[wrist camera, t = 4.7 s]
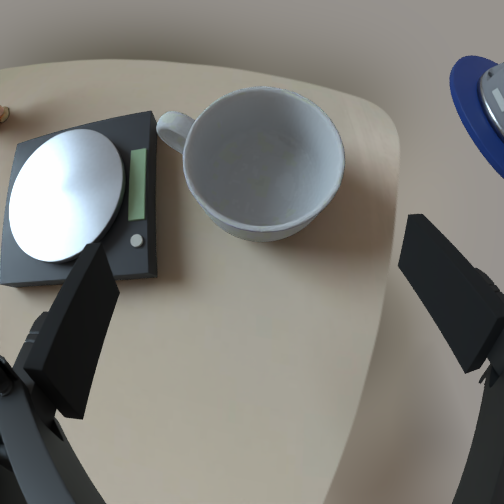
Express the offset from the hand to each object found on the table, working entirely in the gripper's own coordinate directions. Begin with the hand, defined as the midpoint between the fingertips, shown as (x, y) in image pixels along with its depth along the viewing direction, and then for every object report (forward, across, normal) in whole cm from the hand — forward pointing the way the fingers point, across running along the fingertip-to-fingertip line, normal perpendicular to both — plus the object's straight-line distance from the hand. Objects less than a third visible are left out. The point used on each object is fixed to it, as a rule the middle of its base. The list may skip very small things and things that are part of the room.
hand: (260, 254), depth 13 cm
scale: (+16, -16, -3) cm, 23 cm away
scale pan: (+14, -16, -1) cm, 21 cm away
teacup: (+16, 0, -3) cm, 16 cm away
